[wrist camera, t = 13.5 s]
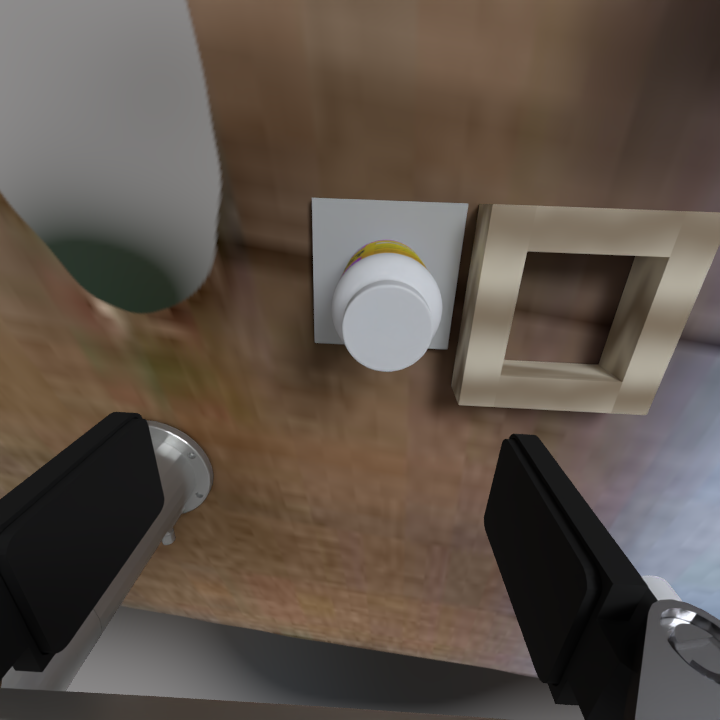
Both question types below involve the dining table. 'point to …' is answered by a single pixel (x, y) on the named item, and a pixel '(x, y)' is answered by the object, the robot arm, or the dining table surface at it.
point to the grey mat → (376, 222)
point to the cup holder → (632, 319)
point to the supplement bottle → (386, 306)
